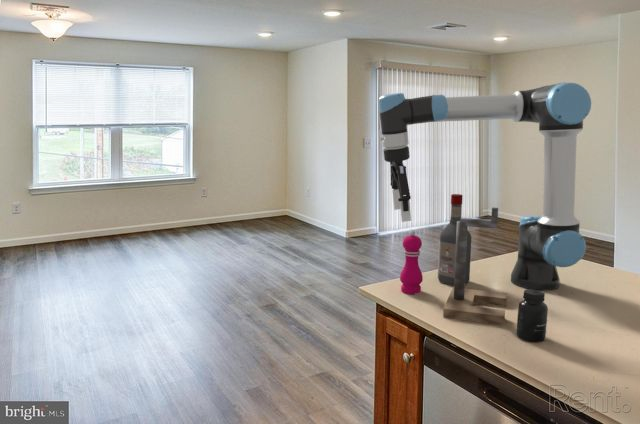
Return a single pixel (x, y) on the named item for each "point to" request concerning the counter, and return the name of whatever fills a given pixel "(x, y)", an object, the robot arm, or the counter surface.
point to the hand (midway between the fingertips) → (402, 214)
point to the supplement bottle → (532, 316)
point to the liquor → (452, 245)
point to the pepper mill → (411, 265)
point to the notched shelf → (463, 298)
